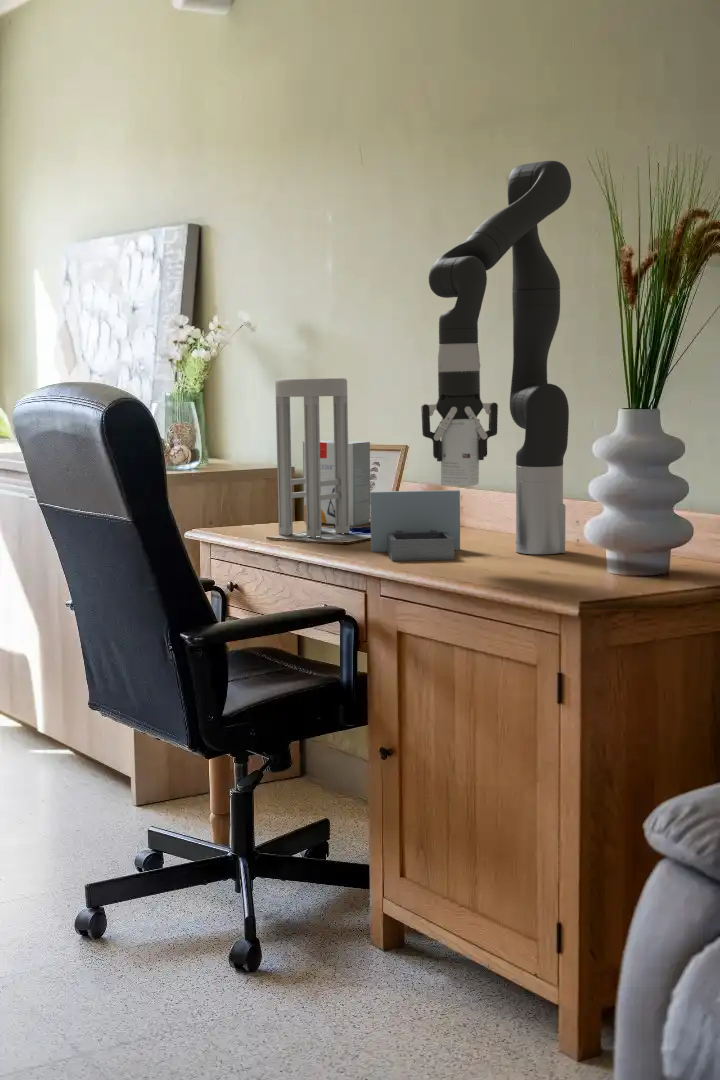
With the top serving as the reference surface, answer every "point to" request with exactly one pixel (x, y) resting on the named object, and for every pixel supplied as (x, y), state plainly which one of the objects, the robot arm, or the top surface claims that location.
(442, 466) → the skincare box
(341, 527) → the stool
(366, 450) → the hard drive box
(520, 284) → the robot arm
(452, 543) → the grey open tray
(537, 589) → the top surface
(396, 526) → the backboard
